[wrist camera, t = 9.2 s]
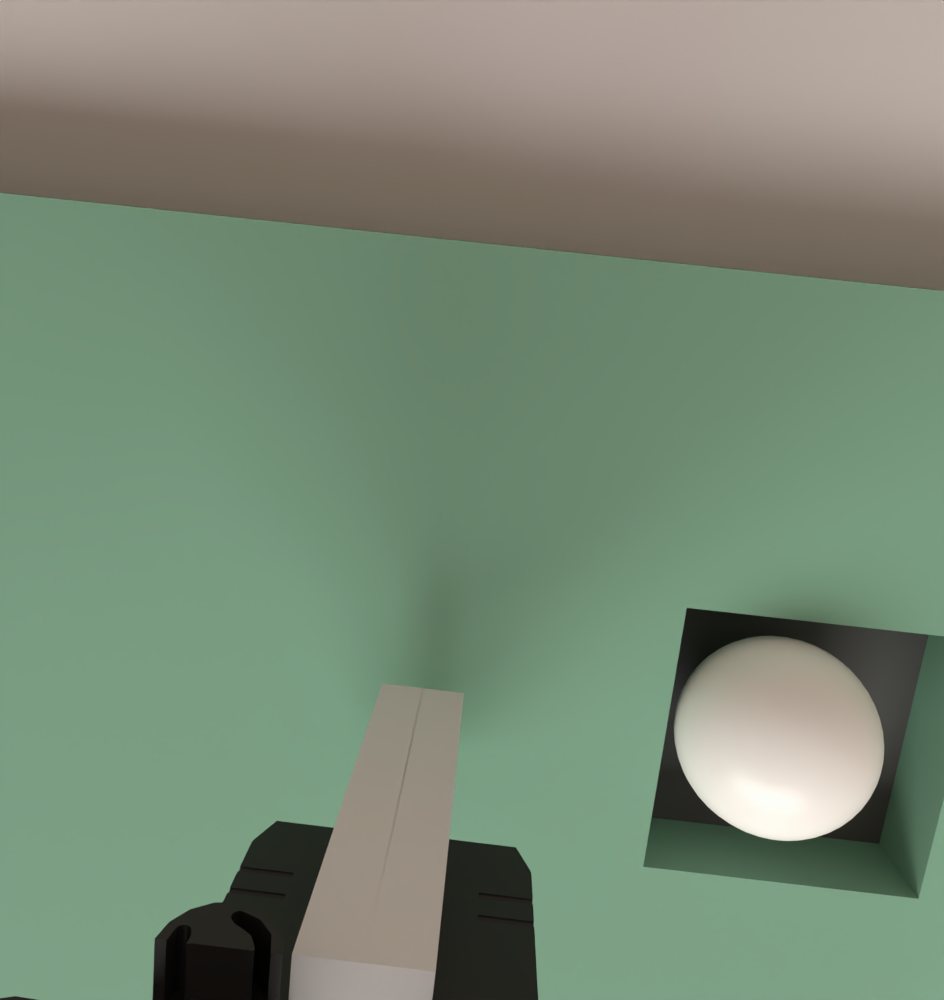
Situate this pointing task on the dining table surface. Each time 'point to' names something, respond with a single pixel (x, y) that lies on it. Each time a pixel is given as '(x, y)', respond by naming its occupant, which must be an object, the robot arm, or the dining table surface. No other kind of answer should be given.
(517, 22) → the dining table surface
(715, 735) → the ball
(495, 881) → the robot arm
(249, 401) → the green slab with pocket
